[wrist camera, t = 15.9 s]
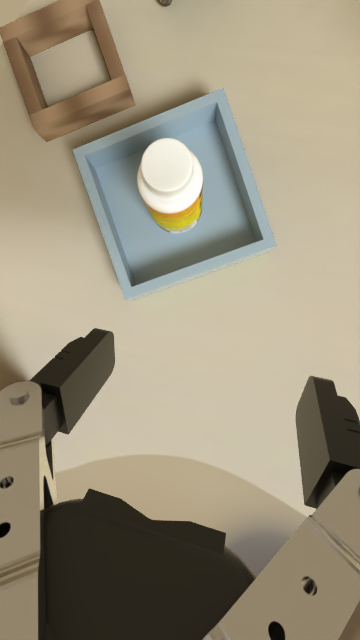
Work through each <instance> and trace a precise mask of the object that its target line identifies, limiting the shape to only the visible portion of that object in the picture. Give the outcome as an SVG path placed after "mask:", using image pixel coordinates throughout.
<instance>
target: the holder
mask: <svg viewBox="0 0 360 640" xmlns="http://www.w3.org/2000/svg"><path fill="white" fill-rule="evenodd" d="M93 28H94V31H95V34H96V36H97V39H98V42H99V45H100V48H101V51H102V54H103V57H104V60H105V62H106V65H107V68H108V71H109V74H110V77H111V81H109V82H106V83H104V84H102V85H99V86H97V87H95V88H92V89H90V90H88V91H85V92H83V93H80V94H78V95H76V96H73V97H71V98H69V99H66V100H64V101H62V102H59V103H57V104H55V105H52V106H50V107H47V104H46V101H45V98H44V95H43V93H42V90H41V87H40V84H39V81H38V78H37V76H36V73H35V70H34V67H33V64H32V62H31V59H30V56H32V55H34V54H37V53H39V52H41V51H43V50H46V49H48V48H50V47H52V46H55V45H57V44H59V43H62V42H64V41H66V40H68V39H71V38H73V37H75V36H77V35H80V34H82V33H84V32H86V31H89V30H91V29H93ZM0 35H1V37H2V40H3V43H4V46H5V49H6V51H7V54H8V57H9V60H10V63H11V65H12V68H13V71H14V74H15V77H16V79H17V82H18V85H19V88H20V91H21V93H22V96H23V99H24V102H25V105H26V107H27V110H28V113H29V116H30V119H31V121H32V124H33V127H34V129H35V130H36V131H37V132H38V133H39V135H40V136H41V137H42V138H43V139H44V140H45V141H46V142H47V141H50V140H52V139H55V138H57V137H59V136H62V135H64V134H67V133H69V132H71V131H74V130H76V129H79V128H81V127H83V126H86V125H88V124H91V123H93V122H95V121H98V120H100V119H103V118H105V117H107V116H110V115H112V114H115V113H117V112H120V111H122V110H124V109H127V108H129V107H132V106H134V105H135V103H134V100H133V96H132V93H131V90H130V87H129V84H128V82H127V79H126V76H125V73H124V70H123V67H122V64H121V61H120V58H119V55H118V53H117V50H116V47H115V44H114V41H113V38H112V35H111V32H110V29H109V27H108V24H107V21H106V18H105V15H104V12H103V9H102V6H101V3H100V1H99V0H59V1H57V2H55V3H53V4H51V5H49V6H46V7H44V8H42V9H40V10H38V11H35V12H33V13H31V14H29V15H27V16H24V17H22V18H20V19H18V20H16V21H14V22H11V23H9V24H7V25H5V26H3V27H0Z"/></svg>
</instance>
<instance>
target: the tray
mask: <svg viewBox="0 0 360 640" xmlns="http://www.w3.org/2000/svg"><path fill="white" fill-rule="evenodd" d="M162 138H173V139H176V140H178V141H180V142H182V143H183V144H184V145H185V146H186V147H187V148H188V150H190V151H191V152H192V153H193V154H194V155H195V156H196V157H197V159H198V161H199V163H200V165H201V168H202V172H203V204H202V213H201V216H200V219H199V220H198V222H197V223H196V225H195V226H194V227H193V228H191V229H190V230H188V231H186V232H183V233H169V232H167V231H165V230H163V229H162V228H160V227H159V226H158V225H157V224H156V222H155V221H154V219H153V217H152V215H151V213H150V211H149V209H148V207H147V206H146V204H145V202H144V200H143V198H142V196H141V194H140V192H139V189H138V184H137V174H138V169H139V166H140V164H141V160H142V156H143V154H144V152H145V150H146V149H147V148H148V146H149V145H150V144H152V143H153V142H155V141H157V140H159V139H162ZM73 153H74V156H75V159H76V161H77V164H78V167H79V170H80V173H81V176H82V178H83V181H84V184H85V187H86V190H87V193H88V195H89V198H90V201H91V204H92V207H93V210H94V212H95V215H96V218H97V221H98V224H99V226H100V229H101V232H102V235H103V238H104V241H105V243H106V246H107V249H108V252H109V255H110V258H111V260H112V263H113V266H114V269H115V272H116V275H117V277H118V280H119V283H120V286H121V289H122V291H123V294H124V297H125V300H136V299H139V298H142V297H145V296H147V295H150V294H153V293H156V292H159V291H161V290H164V289H167V288H170V287H173V286H175V285H178V284H181V283H184V282H187V281H189V280H192V279H195V278H198V277H201V276H203V275H206V274H209V273H212V272H215V271H217V270H220V269H223V268H226V267H229V266H231V265H234V264H237V263H240V262H243V261H245V260H248V259H251V258H254V257H257V256H259V255H262V254H265V253H267V252H269V251H270V250H271V249H273V248H274V247H275V246H277V245H276V242H275V239H274V236H273V233H272V230H271V227H270V224H269V221H268V218H267V215H266V212H265V209H264V206H263V204H262V201H261V198H260V195H259V192H258V189H257V186H256V183H255V180H254V177H253V174H252V171H251V168H250V165H249V162H248V159H247V156H246V153H245V150H244V147H243V144H242V141H241V138H240V135H239V132H238V129H237V126H236V123H235V120H234V117H233V114H232V111H231V108H230V105H229V102H228V99H227V96H226V93H225V90H224V88H222V89H219V90H217V91H214V92H212V93H210V94H207V95H205V96H202V97H200V98H197V99H195V100H193V101H190V102H188V103H185V104H183V105H180V106H178V107H175V108H173V109H171V110H168V111H166V112H163V113H161V114H158V115H156V116H153V117H151V118H149V119H146V120H144V121H141V122H139V123H136V124H134V125H132V126H129V127H127V128H124V129H122V130H119V131H117V132H114V133H112V134H110V135H107V136H105V137H102V138H100V139H97V140H95V141H92V142H90V143H88V144H85V145H83V146H80V147H78V148H75V149H73Z"/></svg>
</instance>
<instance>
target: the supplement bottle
mask: <svg viewBox="0 0 360 640" xmlns="http://www.w3.org/2000/svg"><path fill="white" fill-rule="evenodd" d="M137 184H138V189H139V192H140V194H141V196H142V198H143V200H144V202H145V204H146V206H147V207H148V209H149V211H150V213H151V215H152V217H153V219H154V221H155V222H156V224H157V225H158V226H159V227H160V228H162V229H163V230H165V231H167V232H169V233H183V232H186V231H188V230H190V229H191V228H193V227H194V226H195V225H196V223H197V222H198V220H199V219H200V216H201V213H202V204H203V172H202V168H201V165H200V163H199V161H198V159H197V157H196V156H195V155H194V154H193V153H192V152H191V151H190V150H188V148H187V147H186V146H185V145H184V144H183V143H182V142H180V141H178V140H176V139H173V138H162V139H159V140H157V141H155V142H153V143H152V144H150V145H149V146H148V148H147V149H146V150H145V152H144V154H143V156H142V160H141V164H140V166H139V169H138V174H137Z"/></svg>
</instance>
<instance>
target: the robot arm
mask: <svg viewBox="0 0 360 640" xmlns="http://www.w3.org/2000/svg"><path fill="white" fill-rule="evenodd" d="M114 364H115V352H114V335H113V333H112V332H110V331H106V330H101V329H97V328H94V329H93V330H92V331H91V332H90V333H89V334H88V335H87V336H86V337H85V338H83V337H80V338H78V339H76V340H74V341H72V342H70V343H68V344H67V345H66V346H65V347H64V348H63V349H62V350H61V352H59V353H58V354H57V355H56V356H55V358H53V359H52V360H51V361H50V362H49V363H48V364H47V365H46V366H44V367H43V368H42V369H41V370H40V371H39V372H38V373H37V374H36V375H35V376H34V377H33V378H32V379H31V380H30V381H22V382H17V383H13V384H11V385H9V386H7V387H5V388H4V389H2V390H1V391H0V640H338V639H339V637H340V635H341V633H342V631H343V629H344V628H345V626H346V624H347V622H348V620H349V618H350V617H351V615H352V613H353V611H354V609H355V608H356V606H357V604H358V602H359V600H360V421H359V418H358V415H357V412H356V409H355V408H354V407H353V406H352V405H351V403H350V402H349V401H348V400H347V398H345V397H341V396H337V392H336V389H335V385H334V382H333V381H332V380H328V379H323V378H319V377H314V376H310V377H309V379H308V381H307V383H306V386H305V388H304V391H303V393H302V396H301V398H300V401H299V403H298V406H297V410H296V428H297V437H298V447H299V456H300V466H301V475H302V485H303V495H304V504H305V505H306V506H309V507H313V508H316V509H317V510H316V511H315V512H314V513H313V514H312V515H309V516H308V517H307V518H306V520H305V521H304V522H303V523H302V524H301V525H300V526H299V528H298V529H297V530H296V531H295V532H294V534H293V535H292V536H291V537H290V538H289V540H288V541H287V542H286V543H285V544H284V546H283V547H282V548H281V549H280V550H279V552H278V553H277V554H276V555H275V556H274V557H273V559H272V560H271V561H270V562H269V563H268V565H267V566H266V567H265V568H264V569H263V571H262V572H261V573H260V574H259V575H258V577H257V578H256V577H255V575H254V574H253V573H252V571H251V570H250V569H249V567H248V566H247V565H246V564H245V562H244V561H243V560H242V559H241V558H240V557H239V556H238V555H237V554H236V553H234V552H233V551H232V550H231V549H229V548H228V547H226V546H225V537H226V533H224V532H221V531H218V530H214V529H212V528H208V527H205V526H202V525H199V524H196V523H193V522H189V521H159V520H151V519H149V518H147V517H146V516H144V515H143V514H142V513H140V512H139V511H137V510H136V509H134V508H133V507H132V506H130V505H129V504H127V503H126V502H124V501H123V500H122V499H120V498H117V497H114V496H111V495H107V494H104V493H101V492H98V491H95V490H92V489H89V490H88V492H87V493H86V495H85V497H84V499H75V500H70V501H65V502H61V503H58V500H57V494H56V483H55V465H54V447H53V439H52V438H53V437H54V436H55V434H56V433H57V432H58V431H59V432H62V433H65V434H69V433H70V431H71V430H72V429H73V427H74V426H75V424H76V423H77V422H78V420H79V419H80V417H81V416H82V414H83V413H84V412H85V410H86V409H87V407H88V406H89V405H90V403H91V402H92V400H93V399H94V398H95V396H96V395H97V393H98V392H99V390H100V389H101V388H102V386H103V385H104V383H105V382H106V381H107V379H108V378H109V376H110V375H111V373H112V371H113V368H114Z"/></svg>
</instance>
